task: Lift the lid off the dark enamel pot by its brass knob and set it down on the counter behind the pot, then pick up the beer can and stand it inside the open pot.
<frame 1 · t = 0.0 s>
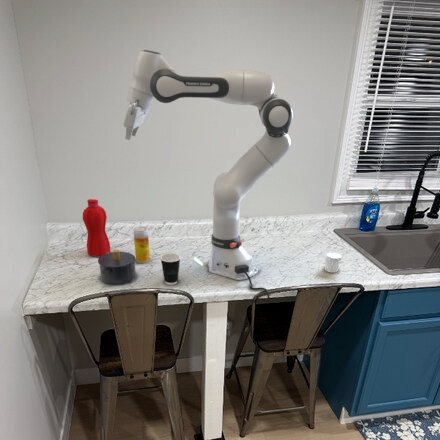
hand: (130, 137, 152), 52 cm above the counter, tool tilted 20°, fingers open, 8 cm apart
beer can: (142, 261, 179), on the counter
white cylinder: (330, 270, 177), on the counter
water bottle: (100, 252, 186), on the counter
pot lid: (117, 260, 161), point 7 cm above the counter, touching pot
pot: (118, 277, 165), on the counter
dixie cup: (171, 282, 162), on the counter
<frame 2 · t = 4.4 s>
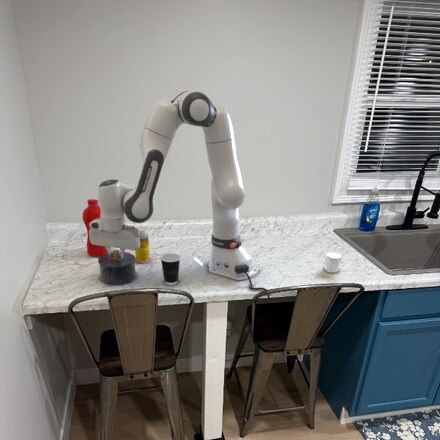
hand: (116, 256, 160), 9 cm above the counter, tool pointing down, fingers closed on pot lid, 2 cm apart
pot lid: (117, 260, 161), point 8 cm above the counter, touching gripper, pot
everything else where it was.
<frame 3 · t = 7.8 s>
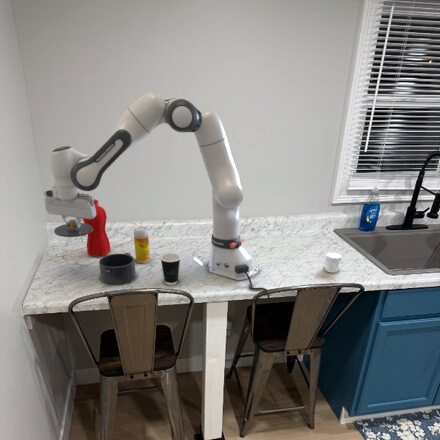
hand: (73, 226, 159), 19 cm above the counter, tool pointing down, fingers closed on pot lid, 2 cm apart
pot lid: (74, 230, 160), point 18 cm above the counter, touching gripper
everything else where it was.
when the fingers open (2 cm above the counter, at t = 11.7 s): pot lid stays where it is, point 1 cm above the counter.
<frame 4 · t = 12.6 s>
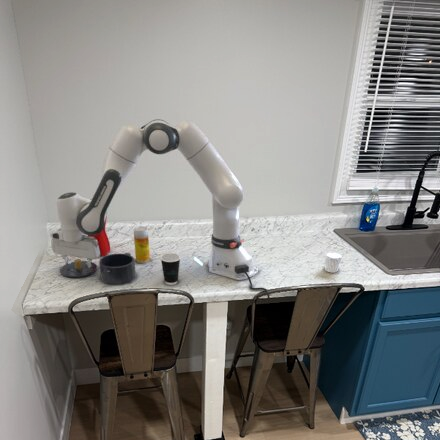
hand: (78, 265, 167), 2 cm above the counter, tool pointing down, fingers open, 8 cm apart
pot lid: (78, 269, 168), point 1 cm above the counter
everything else where it was.
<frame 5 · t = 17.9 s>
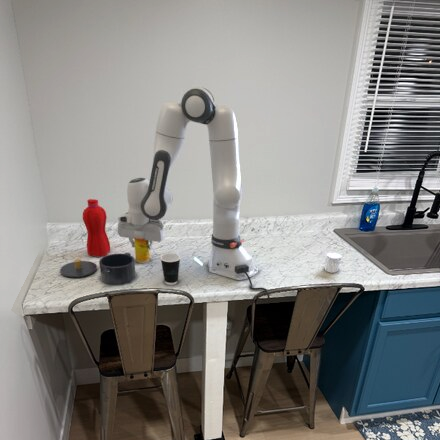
hand: (141, 248, 176), 6 cm above the counter, tool pointing down, fingers closed on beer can, 6 cm apart
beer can: (142, 261, 179), on the counter, touching gripper
everything else where it was.
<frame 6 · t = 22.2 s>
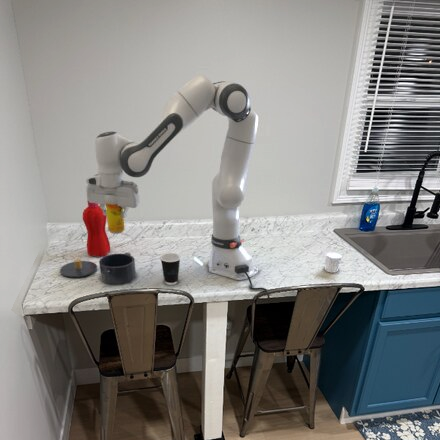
hand: (115, 216, 153), 25 cm above the counter, tool pointing down, fingers closed on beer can, 6 cm apart
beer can: (116, 231, 157), point 19 cm above the counter, touching gripper
everything else where it was.
when the fingers open (6 cm above the counter, at t = 26.8 s): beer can stays where it is, resting on pot.
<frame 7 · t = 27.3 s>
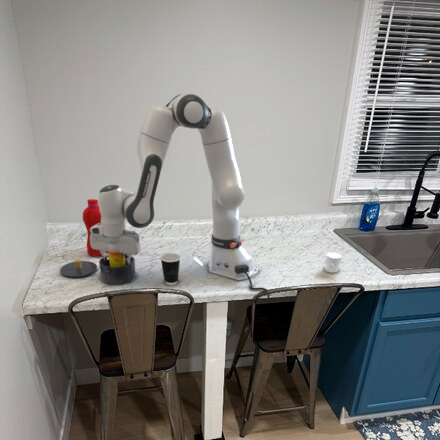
hand: (117, 261, 161), 7 cm above the counter, tool pointing down, fingers open, 8 cm apart
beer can: (118, 276, 164), resting on pot
everything else where it was.
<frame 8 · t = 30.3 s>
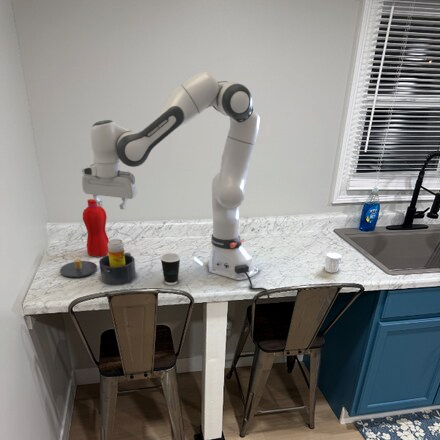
hand: (111, 207, 150), 29 cm above the counter, tool pointing down, fingers open, 8 cm apart
nothing on the counter moved.
at the end: pot lid inside the target area (0.1 cm from its centre), point 0.6 cm above the counter; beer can 0.1 cm off-centre in the pot, point 0.3 cm above the pot's base; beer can tilted 0° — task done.
